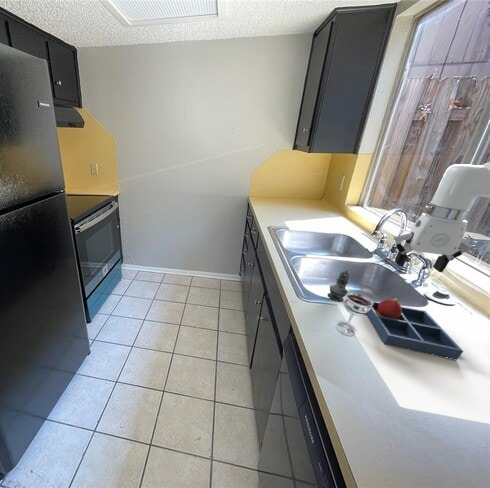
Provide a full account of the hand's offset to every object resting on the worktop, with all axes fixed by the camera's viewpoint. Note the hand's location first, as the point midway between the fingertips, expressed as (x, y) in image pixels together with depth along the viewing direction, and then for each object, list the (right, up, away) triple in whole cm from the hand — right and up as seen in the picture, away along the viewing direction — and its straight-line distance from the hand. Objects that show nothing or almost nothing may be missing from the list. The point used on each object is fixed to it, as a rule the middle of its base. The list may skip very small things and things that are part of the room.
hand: (417, 267), depth 77 cm
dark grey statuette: (-12, -13, +18) cm, 26 cm away
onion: (-3, -18, +8) cm, 20 cm away
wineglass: (-19, -20, +3) cm, 28 cm away
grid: (0, -20, +4) cm, 21 cm away
